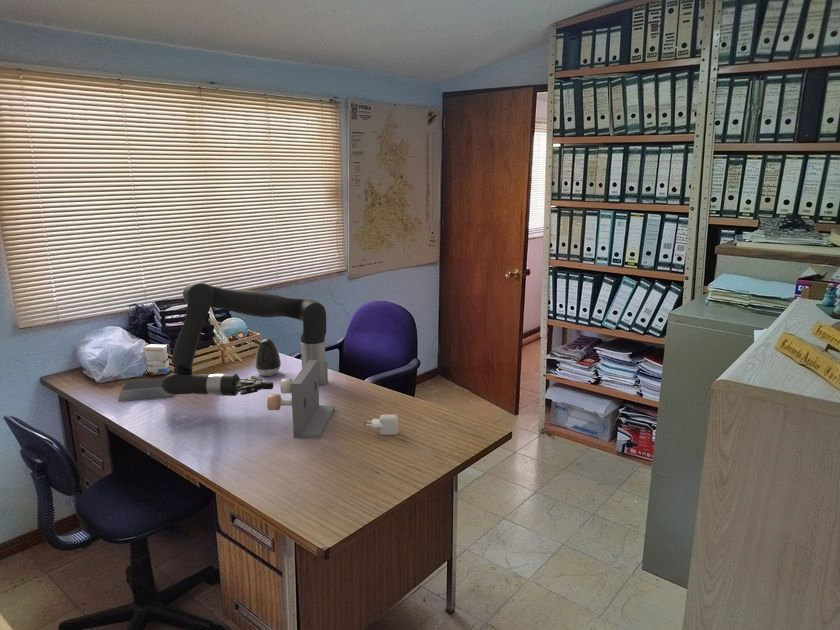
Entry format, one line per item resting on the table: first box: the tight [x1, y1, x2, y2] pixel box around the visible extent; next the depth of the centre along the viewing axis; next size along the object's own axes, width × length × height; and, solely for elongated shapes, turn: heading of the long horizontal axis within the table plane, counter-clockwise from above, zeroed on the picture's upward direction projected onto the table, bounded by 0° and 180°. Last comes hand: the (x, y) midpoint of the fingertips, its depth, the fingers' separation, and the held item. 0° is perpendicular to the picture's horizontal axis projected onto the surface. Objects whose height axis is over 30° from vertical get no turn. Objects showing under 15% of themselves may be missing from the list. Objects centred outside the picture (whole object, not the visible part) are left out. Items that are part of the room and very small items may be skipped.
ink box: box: [143, 343, 170, 373], centre depth 248 cm, size 9×5×12 cm, turn 84°
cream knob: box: [280, 378, 294, 394], centre depth 205 cm, size 10×5×5 cm, turn 87°
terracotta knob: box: [266, 393, 292, 411], centre depth 191 cm, size 10×5×5 cm, turn 87°
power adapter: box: [362, 413, 399, 436], centre depth 192 cm, size 11×5×6 cm, turn 92°
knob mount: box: [290, 360, 336, 440], centre depth 198 cm, size 8×24×18 cm, turn 177°
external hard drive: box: [118, 378, 176, 401], centre depth 226 cm, size 13×19×4 cm
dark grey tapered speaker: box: [253, 338, 282, 377], centre depth 246 cm, size 10×10×15 cm
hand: (272, 385), depth 206 cm, fingers closed
